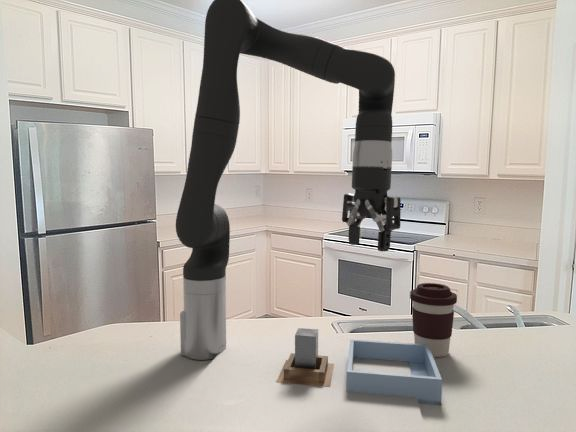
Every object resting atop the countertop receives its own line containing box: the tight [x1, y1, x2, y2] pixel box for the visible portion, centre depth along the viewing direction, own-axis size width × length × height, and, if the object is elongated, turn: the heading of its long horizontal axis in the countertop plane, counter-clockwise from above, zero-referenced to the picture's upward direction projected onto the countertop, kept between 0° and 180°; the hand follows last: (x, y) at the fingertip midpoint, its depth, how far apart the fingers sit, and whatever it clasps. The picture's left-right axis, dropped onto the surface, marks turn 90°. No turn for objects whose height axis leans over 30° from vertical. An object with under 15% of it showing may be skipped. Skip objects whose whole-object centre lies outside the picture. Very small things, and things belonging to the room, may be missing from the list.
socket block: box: [275, 352, 335, 388], centre depth 81 cm, size 10×10×3 cm
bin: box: [346, 338, 443, 406], centre depth 80 cm, size 16×16×4 cm
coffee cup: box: [409, 282, 458, 358], centre depth 94 cm, size 10×10×15 cm
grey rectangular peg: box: [294, 327, 319, 370], centre depth 81 cm, size 4×4×8 cm
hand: (368, 247), depth 83 cm, fingers open, 8 cm apart
